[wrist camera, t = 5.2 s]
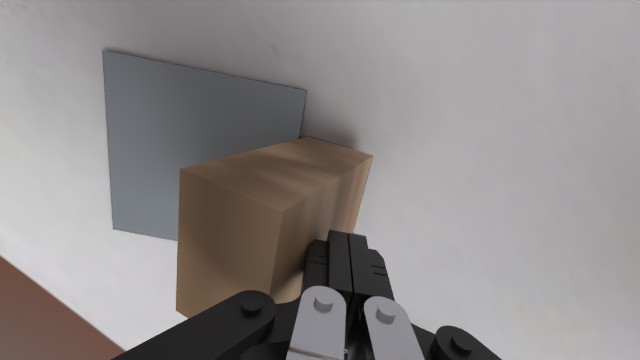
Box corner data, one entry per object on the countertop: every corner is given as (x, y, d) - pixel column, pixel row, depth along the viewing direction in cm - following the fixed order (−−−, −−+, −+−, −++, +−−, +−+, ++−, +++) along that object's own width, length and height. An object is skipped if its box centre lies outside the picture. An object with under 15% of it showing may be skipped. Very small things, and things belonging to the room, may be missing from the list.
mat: (306, 90, 17) (306, 91, 16) (279, 256, 21) (278, 259, 20) (107, 50, 17) (102, 50, 16) (116, 226, 20) (113, 229, 20)
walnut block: (373, 155, 16) (282, 211, 9) (348, 249, 18) (258, 363, 11) (308, 136, 18) (179, 168, 10) (292, 225, 20) (176, 310, 12)
